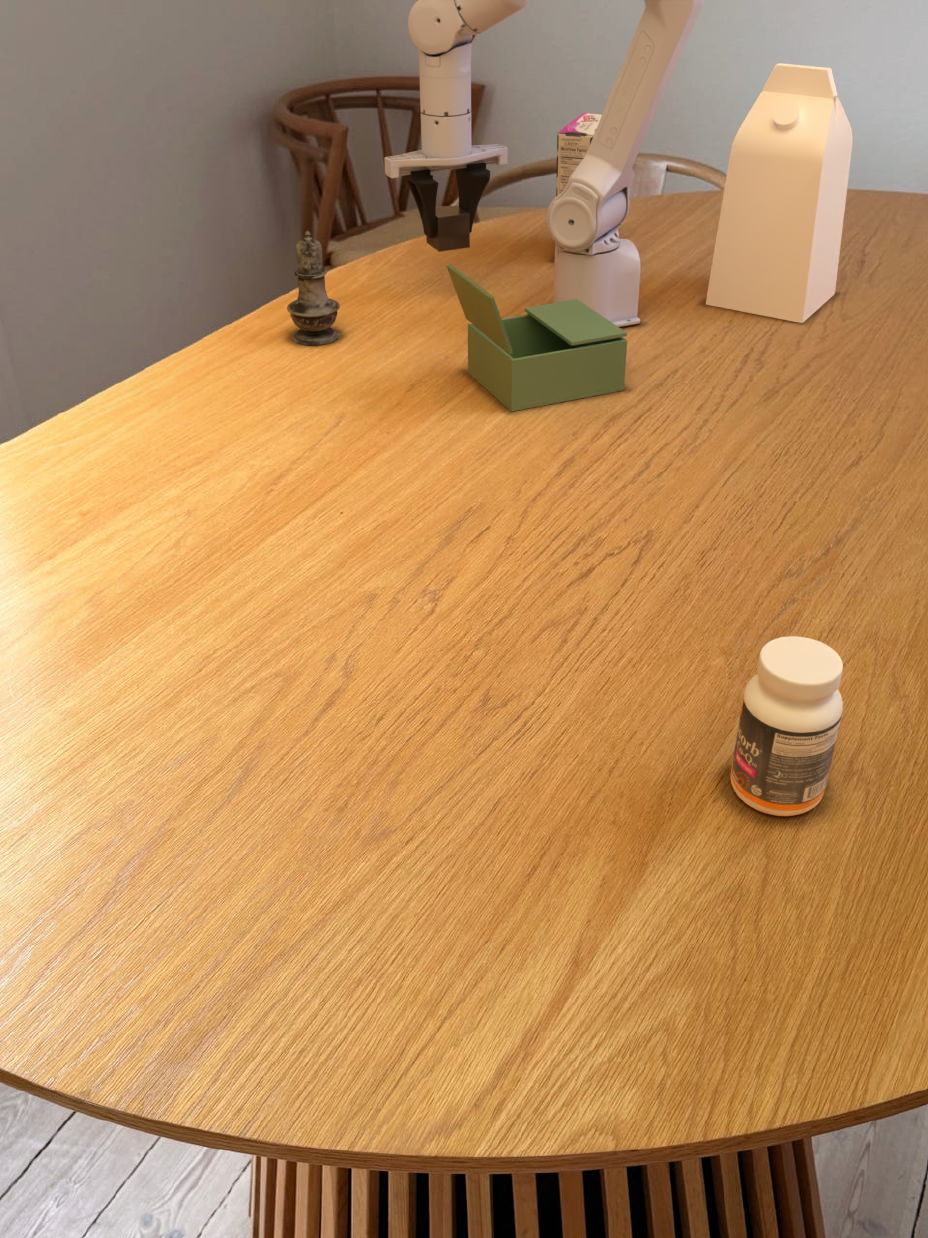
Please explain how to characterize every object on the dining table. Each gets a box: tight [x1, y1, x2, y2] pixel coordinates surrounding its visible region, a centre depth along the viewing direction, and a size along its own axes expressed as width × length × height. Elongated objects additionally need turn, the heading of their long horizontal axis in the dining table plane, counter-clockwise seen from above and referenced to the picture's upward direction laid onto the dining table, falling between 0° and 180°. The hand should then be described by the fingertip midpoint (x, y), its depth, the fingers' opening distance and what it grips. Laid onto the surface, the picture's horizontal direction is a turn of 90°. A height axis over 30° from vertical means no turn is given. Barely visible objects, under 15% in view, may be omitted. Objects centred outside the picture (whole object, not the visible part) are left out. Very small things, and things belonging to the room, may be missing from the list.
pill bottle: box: [730, 635, 844, 817], centre depth 72 cm, size 6×6×10 cm
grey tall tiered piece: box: [286, 230, 341, 347], centre depth 134 cm, size 6×6×12 cm
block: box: [425, 204, 471, 253], centre depth 144 cm, size 4×4×4 cm
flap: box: [445, 263, 513, 354], centre depth 119 cm, size 6×11×1 cm
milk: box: [705, 62, 854, 324], centre depth 139 cm, size 12×12×26 cm
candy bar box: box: [555, 112, 603, 198], centre depth 158 cm, size 11×5×16 cm, turn 159°
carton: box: [467, 299, 628, 412], centre depth 125 cm, size 13×11×6 cm
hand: (448, 233), depth 144 cm, fingers closed on block, 4 cm apart
